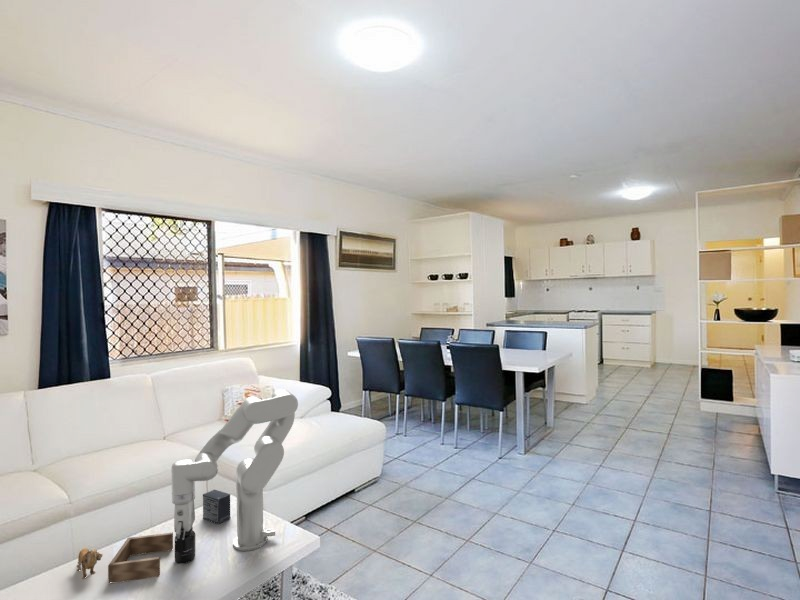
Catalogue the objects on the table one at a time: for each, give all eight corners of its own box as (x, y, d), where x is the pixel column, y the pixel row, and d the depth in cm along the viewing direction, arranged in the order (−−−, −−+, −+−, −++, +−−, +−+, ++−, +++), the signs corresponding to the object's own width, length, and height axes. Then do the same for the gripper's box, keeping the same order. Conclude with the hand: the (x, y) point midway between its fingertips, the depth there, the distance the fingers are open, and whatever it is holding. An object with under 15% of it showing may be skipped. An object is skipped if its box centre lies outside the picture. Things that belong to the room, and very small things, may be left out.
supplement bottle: (187, 565, 155) (186, 531, 155) (170, 563, 157) (169, 529, 157) (199, 554, 162) (199, 521, 162) (183, 552, 164) (182, 520, 163)
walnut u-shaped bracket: (173, 548, 166) (172, 532, 166) (158, 576, 149) (158, 558, 149) (128, 554, 163) (128, 537, 163) (108, 583, 146) (108, 565, 146)
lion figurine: (104, 574, 151) (104, 548, 151) (86, 583, 147) (86, 556, 146) (85, 561, 159) (85, 536, 159) (68, 568, 155) (68, 543, 155)
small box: (231, 518, 189) (231, 493, 189) (218, 524, 183) (218, 499, 183) (215, 512, 194) (215, 488, 194) (202, 518, 189) (201, 494, 189)
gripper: (189, 505, 152) (189, 555, 152) (200, 484, 168) (200, 529, 169) (165, 508, 150) (165, 558, 150) (178, 486, 167) (179, 532, 167)
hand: (184, 543), depth 159 cm, fingers open, 9 cm apart
